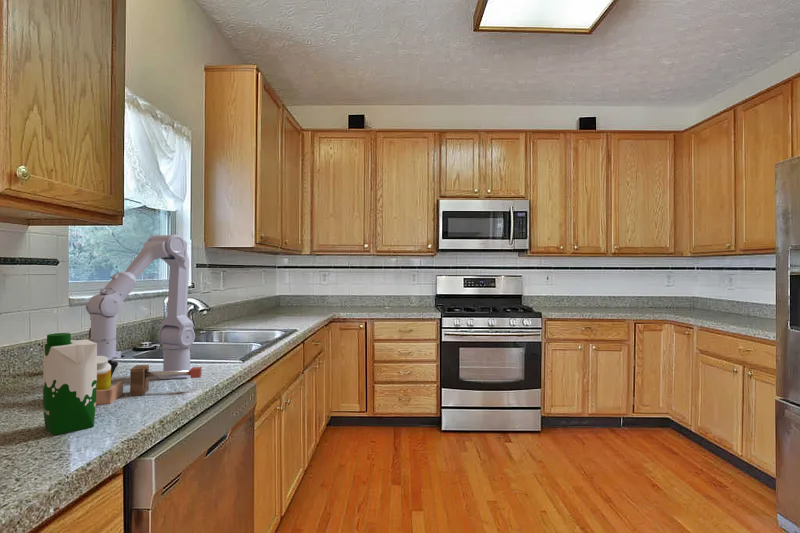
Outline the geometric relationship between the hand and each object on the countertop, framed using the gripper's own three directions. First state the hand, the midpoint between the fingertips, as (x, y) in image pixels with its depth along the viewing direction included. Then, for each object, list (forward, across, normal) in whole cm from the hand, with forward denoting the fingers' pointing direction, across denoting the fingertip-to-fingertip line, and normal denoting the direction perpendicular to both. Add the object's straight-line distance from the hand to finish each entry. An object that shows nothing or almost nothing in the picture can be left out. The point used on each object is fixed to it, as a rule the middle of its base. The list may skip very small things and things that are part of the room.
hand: (102, 390), depth 122 cm
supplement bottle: (0, -3, 0) cm, 3 cm away
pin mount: (+1, +1, -9) cm, 9 cm away
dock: (+1, -5, -1) cm, 5 cm away
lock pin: (-3, +2, -16) cm, 16 cm away
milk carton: (+1, -25, -6) cm, 26 cm away
